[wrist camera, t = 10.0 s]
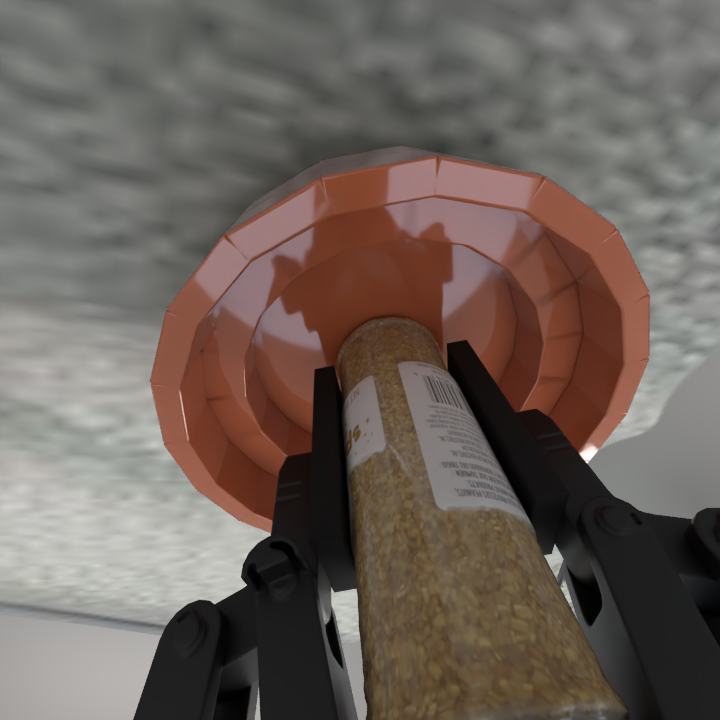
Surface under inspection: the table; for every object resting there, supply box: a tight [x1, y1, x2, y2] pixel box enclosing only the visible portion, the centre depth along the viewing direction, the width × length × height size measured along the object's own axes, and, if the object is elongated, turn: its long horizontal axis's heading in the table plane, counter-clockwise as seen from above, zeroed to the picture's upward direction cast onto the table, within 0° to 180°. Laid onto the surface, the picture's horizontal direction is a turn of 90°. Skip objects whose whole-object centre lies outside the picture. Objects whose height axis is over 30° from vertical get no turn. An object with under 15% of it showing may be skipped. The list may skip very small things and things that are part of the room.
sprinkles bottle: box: [337, 317, 630, 720], centre depth 9 cm, size 5×4×13 cm
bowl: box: [150, 146, 650, 533], centre depth 14 cm, size 16×16×5 cm
